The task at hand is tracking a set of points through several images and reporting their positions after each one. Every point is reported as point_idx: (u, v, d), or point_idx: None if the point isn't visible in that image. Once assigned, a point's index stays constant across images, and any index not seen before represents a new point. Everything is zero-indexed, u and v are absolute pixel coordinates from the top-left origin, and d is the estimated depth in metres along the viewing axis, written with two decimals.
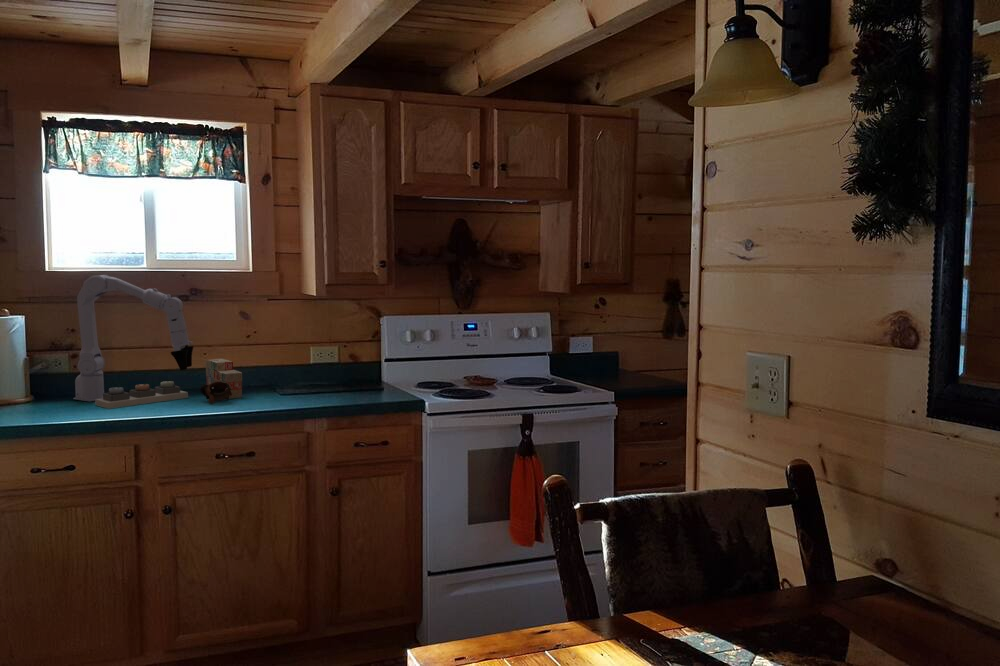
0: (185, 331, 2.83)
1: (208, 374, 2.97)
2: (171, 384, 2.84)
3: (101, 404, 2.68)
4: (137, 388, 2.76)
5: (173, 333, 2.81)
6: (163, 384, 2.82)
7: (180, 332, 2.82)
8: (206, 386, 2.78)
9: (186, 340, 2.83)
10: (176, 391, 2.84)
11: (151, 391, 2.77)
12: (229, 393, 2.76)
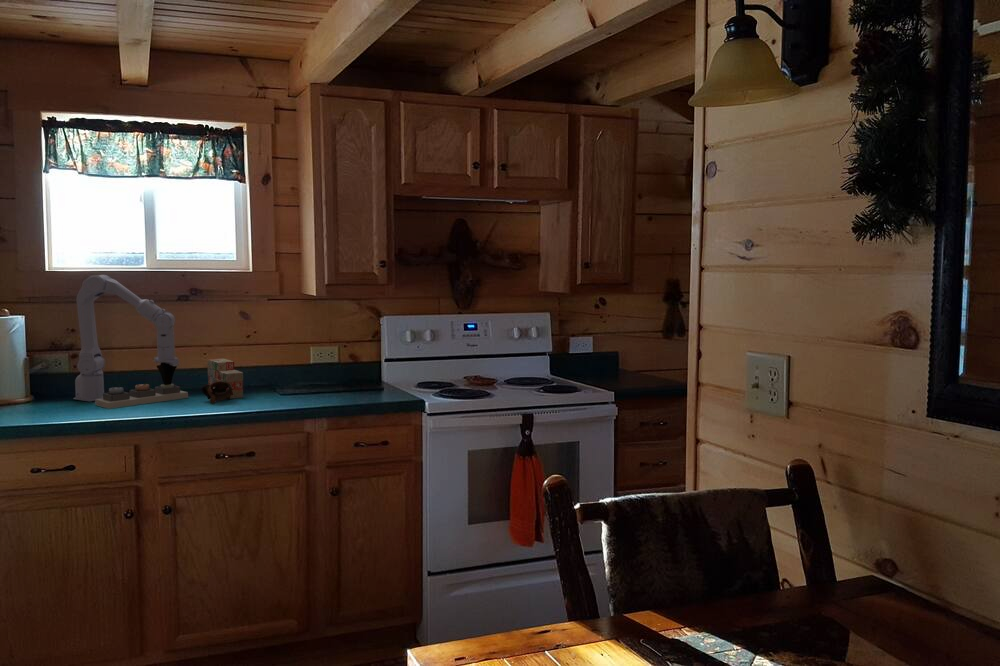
0: (174, 347, 2.85)
1: (210, 374, 2.97)
2: (171, 386, 2.84)
3: (101, 404, 2.68)
4: (137, 388, 2.76)
5: (166, 348, 2.81)
6: (163, 386, 2.83)
7: (172, 348, 2.83)
8: (207, 386, 2.78)
9: (174, 356, 2.85)
10: (176, 391, 2.84)
11: (151, 391, 2.77)
12: (230, 393, 2.76)
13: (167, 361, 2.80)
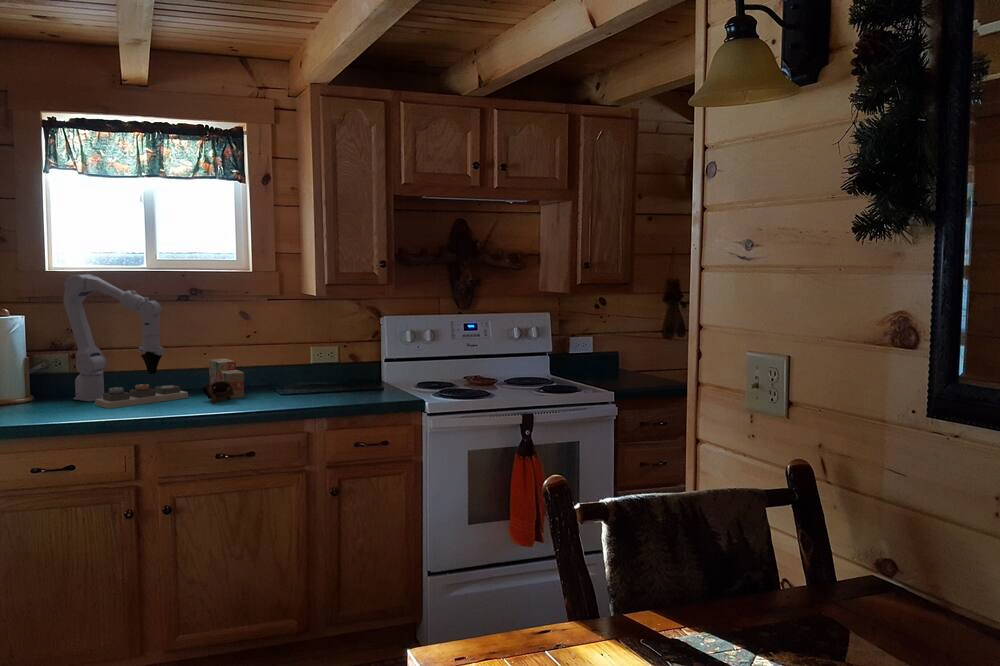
0: (159, 336, 2.80)
1: (211, 374, 2.98)
2: None
3: (101, 404, 2.68)
4: (137, 388, 2.76)
5: (151, 337, 2.76)
6: None
7: (157, 337, 2.78)
8: (208, 386, 2.78)
9: (159, 345, 2.80)
10: (176, 391, 2.84)
11: (151, 391, 2.77)
12: (231, 393, 2.77)
13: (152, 350, 2.75)
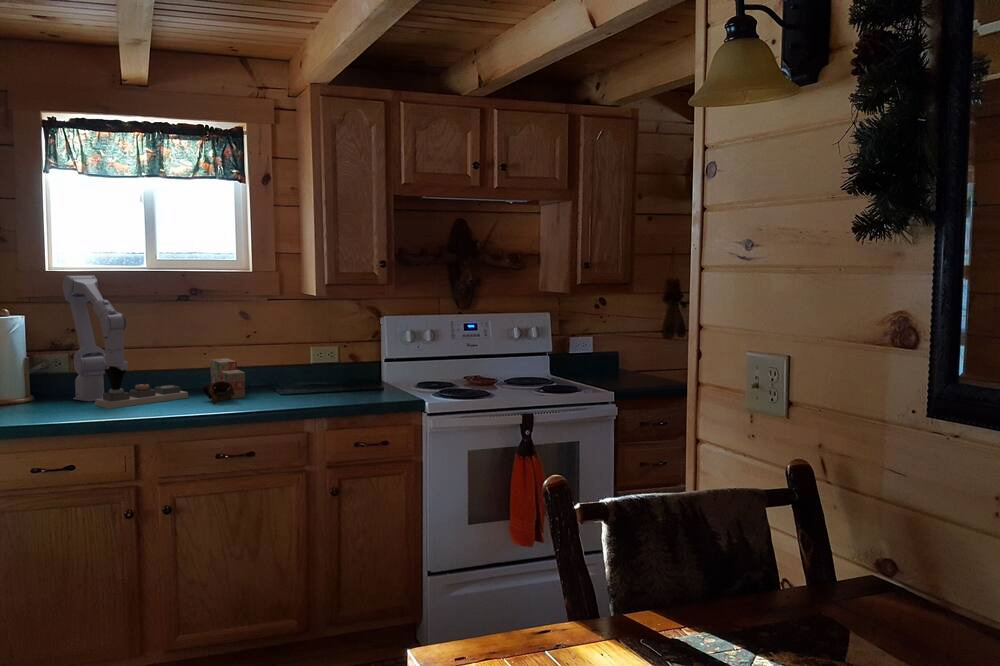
0: (123, 350, 2.71)
1: (212, 374, 2.98)
2: None
3: (101, 404, 2.68)
4: (137, 388, 2.76)
5: (114, 351, 2.67)
6: None
7: (121, 351, 2.69)
8: (208, 386, 2.78)
9: None
10: (176, 391, 2.84)
11: (151, 391, 2.77)
12: (232, 393, 2.77)
13: (115, 365, 2.66)
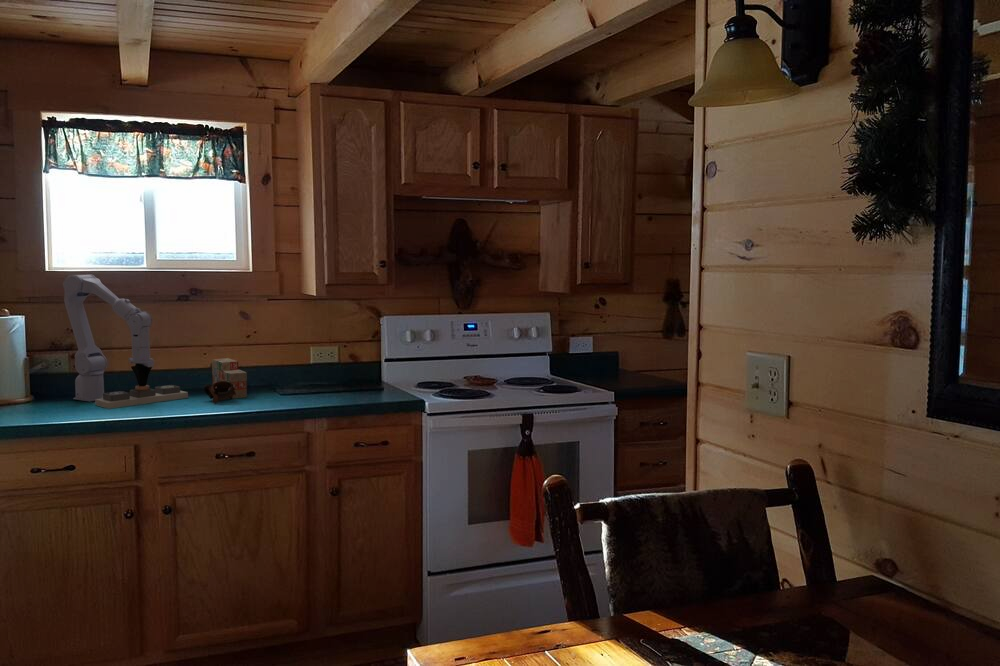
0: (149, 348, 2.78)
1: (214, 374, 2.98)
2: None
3: (101, 404, 2.68)
4: (137, 388, 2.76)
5: (141, 349, 2.74)
6: None
7: (147, 348, 2.76)
8: (210, 386, 2.79)
9: None
10: (176, 391, 2.84)
11: (151, 391, 2.77)
12: (233, 392, 2.77)
13: (142, 362, 2.73)
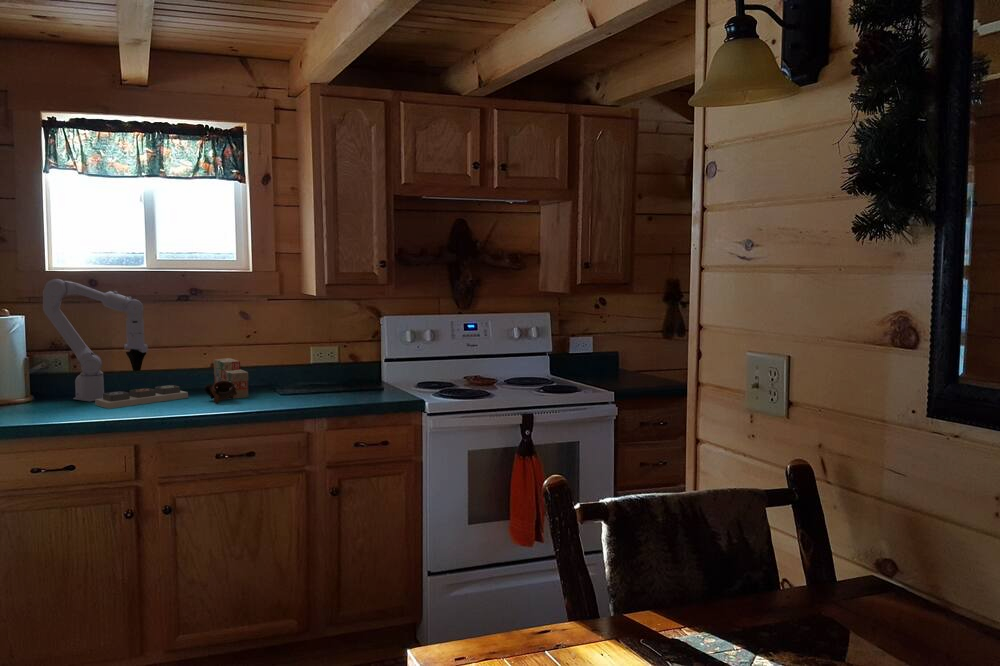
0: None
1: (216, 374, 2.99)
2: None
3: (101, 404, 2.68)
4: None
5: (135, 335, 2.83)
6: None
7: (142, 334, 2.85)
8: (211, 385, 2.79)
9: None
10: (176, 391, 2.84)
11: (151, 391, 2.77)
12: (234, 392, 2.77)
13: (136, 347, 2.82)
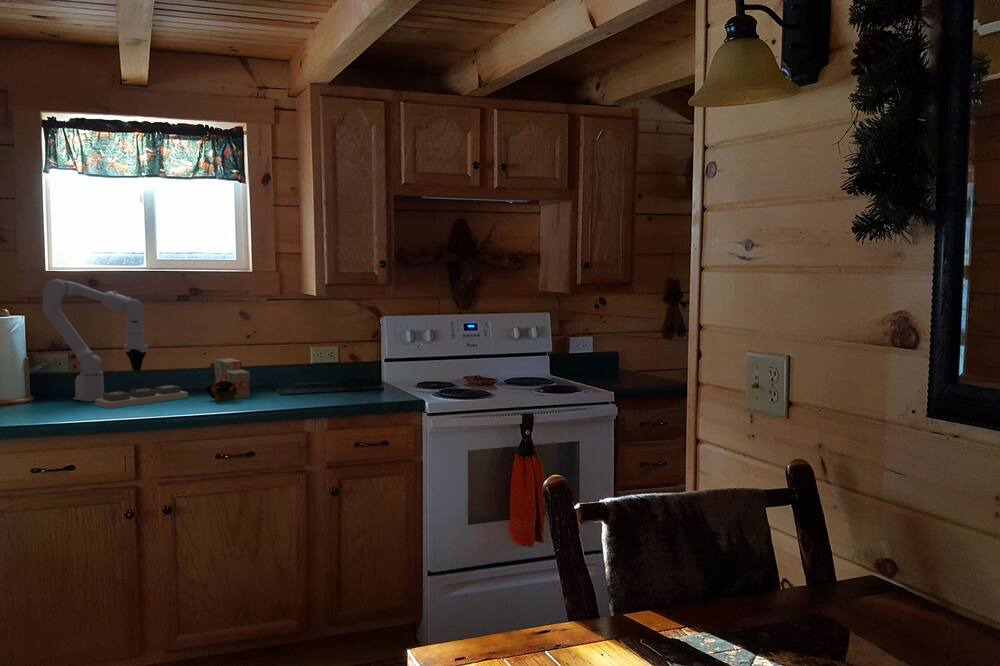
0: (143, 334, 2.87)
1: (217, 374, 2.99)
2: None
3: (101, 404, 2.68)
4: None
5: (135, 334, 2.83)
6: None
7: (142, 334, 2.85)
8: (211, 385, 2.79)
9: None
10: (176, 391, 2.84)
11: (151, 391, 2.77)
12: (235, 392, 2.78)
13: (136, 347, 2.82)
